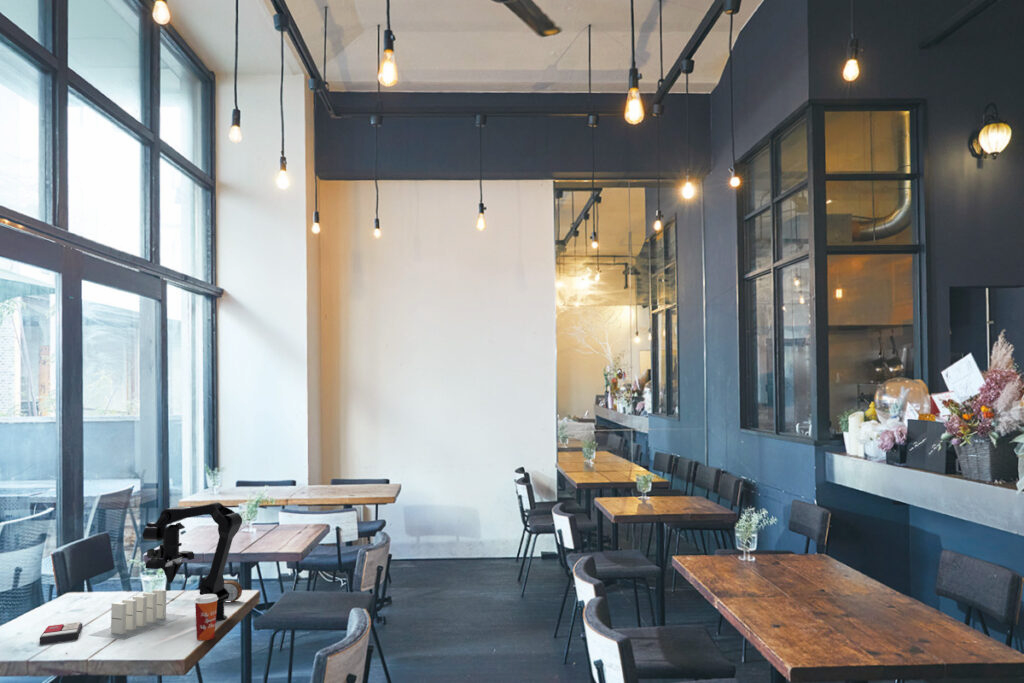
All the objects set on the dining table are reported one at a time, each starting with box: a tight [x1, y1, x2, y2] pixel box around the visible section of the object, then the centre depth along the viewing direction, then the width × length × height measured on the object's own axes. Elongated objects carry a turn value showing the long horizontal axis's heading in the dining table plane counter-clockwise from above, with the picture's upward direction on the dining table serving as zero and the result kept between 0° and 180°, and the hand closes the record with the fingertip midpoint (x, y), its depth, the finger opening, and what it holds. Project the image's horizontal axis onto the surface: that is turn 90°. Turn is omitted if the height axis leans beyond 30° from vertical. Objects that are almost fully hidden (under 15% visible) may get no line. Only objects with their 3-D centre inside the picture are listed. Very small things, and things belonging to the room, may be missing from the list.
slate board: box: [89, 612, 186, 641], centre depth 261 cm, size 28×16×1 cm, turn 161°
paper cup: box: [193, 594, 218, 642], centre depth 249 cm, size 8×8×14 cm
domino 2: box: [121, 598, 137, 630], centre depth 257 cm, size 2×5×10 cm, turn 71°
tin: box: [224, 579, 243, 603], centre depth 294 cm, size 15×3×8 cm, turn 84°
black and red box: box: [38, 621, 83, 646], centre depth 250 cm, size 11×4×15 cm
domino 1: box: [110, 601, 126, 634], centre depth 253 cm, size 2×5×10 cm, turn 71°
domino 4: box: [142, 591, 157, 622], centre depth 266 cm, size 2×5×10 cm, turn 71°
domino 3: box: [132, 595, 147, 626], centre depth 261 cm, size 2×5×10 cm, turn 71°
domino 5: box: [151, 588, 167, 619], centre depth 270 cm, size 2×5×10 cm, turn 71°
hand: (170, 582), depth 275 cm, fingers closed
